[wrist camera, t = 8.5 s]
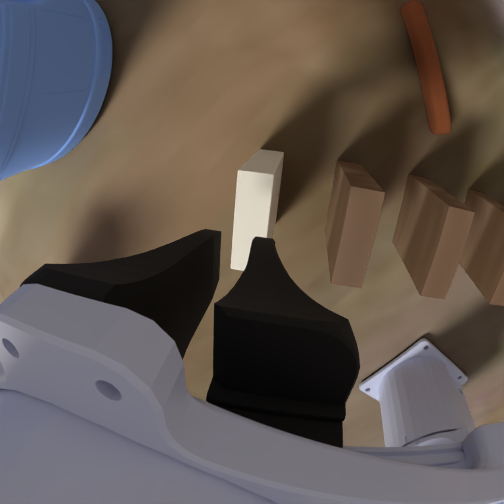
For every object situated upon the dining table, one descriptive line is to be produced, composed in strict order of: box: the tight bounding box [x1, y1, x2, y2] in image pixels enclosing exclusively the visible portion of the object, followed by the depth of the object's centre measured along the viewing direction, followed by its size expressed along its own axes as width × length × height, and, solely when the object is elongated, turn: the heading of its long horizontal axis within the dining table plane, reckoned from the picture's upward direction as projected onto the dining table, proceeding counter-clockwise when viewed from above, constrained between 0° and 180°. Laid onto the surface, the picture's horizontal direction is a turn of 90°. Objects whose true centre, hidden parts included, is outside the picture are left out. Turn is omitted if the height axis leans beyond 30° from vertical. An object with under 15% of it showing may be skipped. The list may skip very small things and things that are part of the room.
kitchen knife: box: [400, 0, 451, 135], centre depth 14 cm, size 16×1×2 cm, turn 15°
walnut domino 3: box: [459, 189, 504, 306], centre depth 17 cm, size 2×5×7 cm, turn 175°
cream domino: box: [231, 149, 284, 271], centre depth 18 cm, size 2×5×7 cm, turn 174°
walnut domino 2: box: [393, 174, 475, 299], centre depth 17 cm, size 2×5×7 cm, turn 175°
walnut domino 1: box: [325, 160, 385, 288], centre depth 18 cm, size 2×5×7 cm, turn 175°
